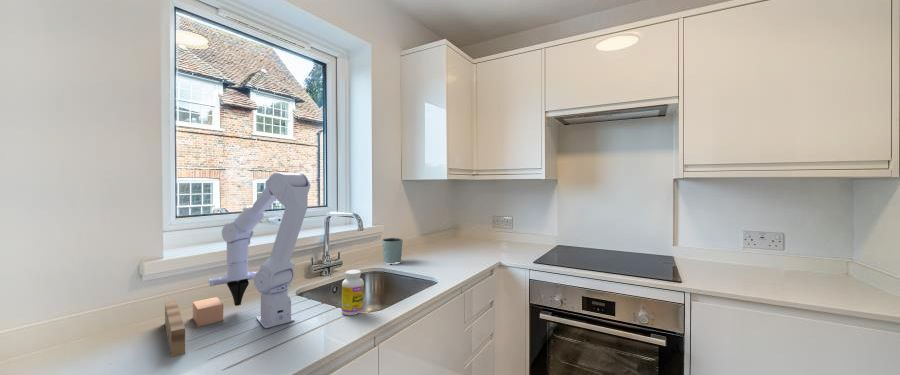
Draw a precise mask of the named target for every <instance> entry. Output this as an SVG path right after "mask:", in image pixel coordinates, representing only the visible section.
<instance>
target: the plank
mask: <svg viewBox="0 0 900 375" xmlns="http://www.w3.org/2000/svg"><path fill="white" fill-rule="evenodd" d="M179 308H180V307H179V306H178V302H177V300H174V301H173V300H172V301H168V302H164V326H165V331H166V335H167V341H168V346H169V350H170V352H169V353H170V355H171V356H170V357H171V358H174V357H176V356H181V355H184V354H186V327H185V324H184V320H183V318H182V315H181V312H180V309H179Z"/></svg>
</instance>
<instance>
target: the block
mask: <svg viewBox="0 0 900 375" xmlns="http://www.w3.org/2000/svg"><path fill="white" fill-rule="evenodd" d="M192 319H193V321H194V323H195V324H196V325H197V327H201V325H202V326H206V325H210V324H213V322H214V323H218V322H221V320H222V321H224V303H223V302H222V300H220V298H218V296H216V297H215V296H214V297H211V298H206V299H205V298H204V299H200V300H196V301H192ZM217 321H218V322H217ZM209 323H210V324H209ZM205 324H206V325H205Z"/></svg>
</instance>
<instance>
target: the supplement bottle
mask: <svg viewBox="0 0 900 375" xmlns="http://www.w3.org/2000/svg"><path fill="white" fill-rule="evenodd" d="M344 274H345V279H344V280H343V281H342V282H341V313H342V314H343V315H345V316H356V313H359V314H361V313H363V310H364V298H365V297H364V291H365V289H364V286H365V282H364V280H363V278H361V275H362V272H361V270H360V269H350V270H349V269H348V270H346V271H345V273H344Z"/></svg>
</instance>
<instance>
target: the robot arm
mask: <svg viewBox="0 0 900 375" xmlns="http://www.w3.org/2000/svg"><path fill="white" fill-rule="evenodd" d="M311 186H312V185H311V183H310V181H309V180H308V176H307V175H305V174H304V173H302V172H296V173H293V172H292V173H289V172H279V171H278V172H277V171H276V172H273V173H271V174H270V176H269V178H268V179H267V180H265V188H264V189H263V190H262V192H261V193H260V195H259V196H258V198H256V200H255V202H254V203H253V204H252V205H248V206H244V207H243V208H242V211H241V212H240V214H239V215H237V217H236V218H235V219H234V220H233V221H231V222H228V223H226V224H224V225H223V227H222V230H221V237H222V239H223V240H224V241H225V242H226V275H222V276H218V277H213V278H212V277H211V278H208V286H209V288H211V287H214V286H219V285H220V286H221V285H225V284H226V286H227V287H228V289H229V291H230V293H231V296H232V299H233V304H234V306H235V307H237V306H241V305H242V300H243V296H244V294H245V292H246V290H247V288H248V286H249V284H250V282H249V281H250V280H253V285H254V288H256V290H257V292H258V293H260V315H257V316H256V320H257V321H258V322H259V324H260V326H262V327H263V328H264V329H268V328H273V327H276V326H280V325H284V324H287V323H292V322H294V321H295V318H294V317H293V316H292V299H291V298H290V296H289V288H290V287H291V283H292V282H293V281H294V278H295V267H296V264H295V262H294V261H293V260H292V259H291V258H292V256H293V252H294V249H295V246H296V244H297V241H298V238H299V234H300V232H301V229H302V225H303V222H304V218H305V217H306V216H305V215H306V212H307V210H308V206H309V205H308V195H309V191H310V189H311ZM276 200H277V201H278V202H279V204H280V205H282V206H283V207H284V212H283V214H282V217H281V220H280V225H279V227H278V231H277V234H276V237H275V240H274V243H273V246H272V248H271V252H270V256H269V257H268V258H267V259H266V260H265V261H264V262H262V264H261V265H260V266H259V270H257V271H249V246H250V245H251V239H252V238H253V235H254V229H255V228H256V227H257V226H258V224H259V223H260V222H261V221H262V220H263V219H264V217H265V215H264V212H265V211H266V210H267V209H268V208H269V207H271V205H272V204H273V203H274V202H276Z"/></svg>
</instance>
